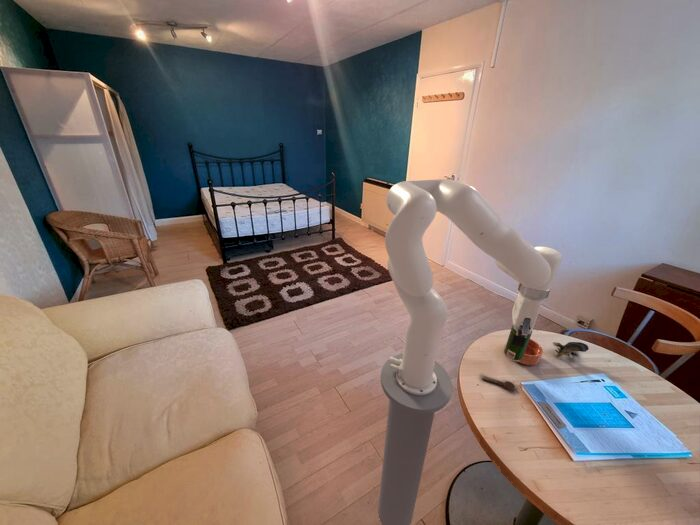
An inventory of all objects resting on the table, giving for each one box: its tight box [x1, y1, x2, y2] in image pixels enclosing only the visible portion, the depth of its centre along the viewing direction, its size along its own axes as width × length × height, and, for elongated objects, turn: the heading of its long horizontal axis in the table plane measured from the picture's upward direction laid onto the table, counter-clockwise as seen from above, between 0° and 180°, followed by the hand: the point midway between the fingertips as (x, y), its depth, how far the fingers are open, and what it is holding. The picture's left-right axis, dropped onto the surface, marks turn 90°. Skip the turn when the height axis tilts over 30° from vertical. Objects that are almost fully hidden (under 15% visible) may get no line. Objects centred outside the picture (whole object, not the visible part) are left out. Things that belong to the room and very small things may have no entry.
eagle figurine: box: [552, 341, 590, 361], centre depth 97 cm, size 8×7×9 cm
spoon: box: [482, 375, 516, 392], centre depth 87 cm, size 9×3×1 cm, turn 64°
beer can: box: [503, 324, 533, 362], centre depth 88 cm, size 5×5×12 cm
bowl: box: [517, 338, 544, 366], centre depth 97 cm, size 10×10×4 cm
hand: (516, 338), depth 88 cm, fingers closed on beer can, 5 cm apart
